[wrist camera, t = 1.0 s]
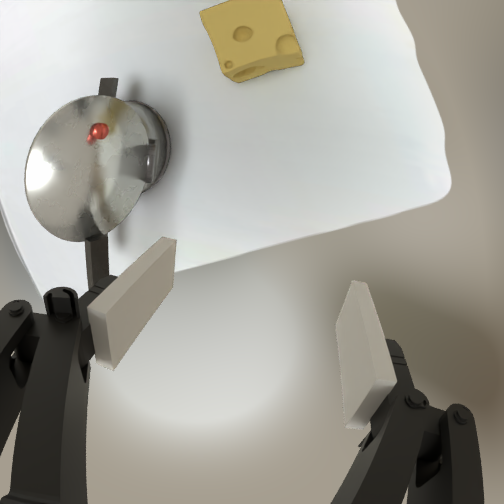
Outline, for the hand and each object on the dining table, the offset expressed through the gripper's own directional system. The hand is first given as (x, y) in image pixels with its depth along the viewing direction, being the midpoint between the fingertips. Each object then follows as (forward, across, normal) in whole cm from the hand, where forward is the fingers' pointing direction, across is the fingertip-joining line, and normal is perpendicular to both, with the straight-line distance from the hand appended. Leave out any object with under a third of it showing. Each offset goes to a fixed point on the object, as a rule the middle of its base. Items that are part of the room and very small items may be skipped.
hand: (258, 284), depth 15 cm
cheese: (+34, -8, +19) cm, 39 cm away
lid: (+17, -21, -6) cm, 28 cm away
